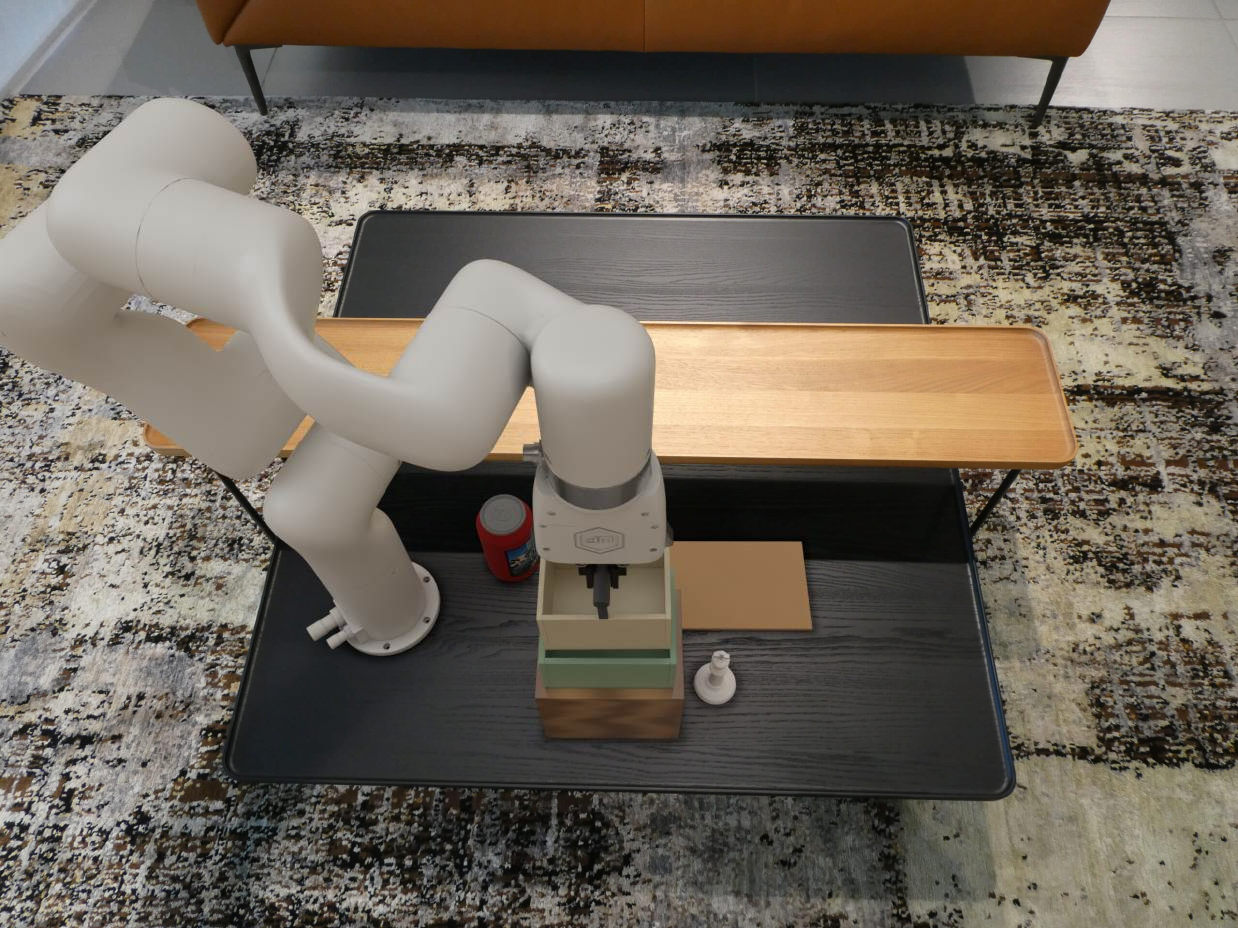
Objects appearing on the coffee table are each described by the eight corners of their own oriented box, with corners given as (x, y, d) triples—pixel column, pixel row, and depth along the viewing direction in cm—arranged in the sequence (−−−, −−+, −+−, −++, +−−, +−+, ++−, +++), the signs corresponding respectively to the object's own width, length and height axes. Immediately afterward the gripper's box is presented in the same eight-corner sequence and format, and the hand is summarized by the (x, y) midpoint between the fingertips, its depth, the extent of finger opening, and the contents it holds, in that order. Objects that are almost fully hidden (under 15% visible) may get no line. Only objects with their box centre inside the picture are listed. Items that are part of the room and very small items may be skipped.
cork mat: (664, 630, 103) (664, 628, 102) (662, 543, 110) (662, 541, 109) (811, 630, 103) (812, 628, 102) (800, 543, 109) (801, 541, 109)
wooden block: (546, 737, 96) (534, 698, 84) (552, 638, 103) (541, 588, 91) (678, 738, 96) (684, 699, 84) (675, 638, 102) (680, 589, 91)
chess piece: (696, 660, 101) (702, 628, 92) (737, 667, 100) (747, 634, 92) (691, 700, 98) (696, 670, 90) (733, 707, 97) (743, 678, 89)
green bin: (544, 688, 85) (538, 663, 79) (550, 597, 90) (544, 567, 84) (673, 688, 85) (676, 664, 79) (671, 597, 90) (673, 567, 84)
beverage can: (533, 588, 106) (523, 543, 96) (481, 579, 107) (466, 533, 97) (546, 542, 110) (537, 494, 100) (496, 533, 111) (483, 485, 101)
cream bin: (545, 649, 78) (530, 602, 69) (550, 566, 83) (537, 511, 74) (670, 649, 78) (671, 600, 69) (668, 565, 82) (669, 510, 73)
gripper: (481, 503, 57) (511, 612, 72) (711, 504, 57) (693, 613, 72) (491, 414, 61) (518, 535, 77) (706, 415, 61) (689, 536, 76)
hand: (603, 573), depth 74 cm, fingers closed on cream bin, 1 cm apart
